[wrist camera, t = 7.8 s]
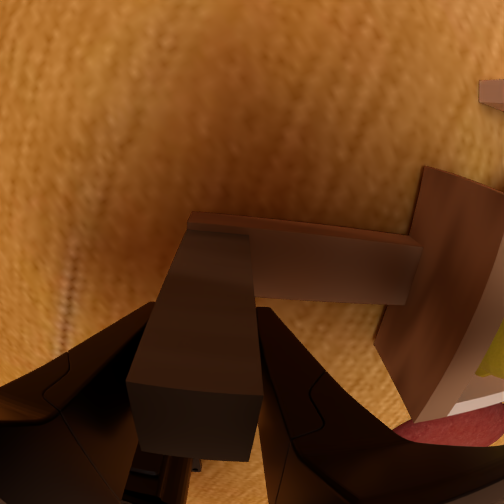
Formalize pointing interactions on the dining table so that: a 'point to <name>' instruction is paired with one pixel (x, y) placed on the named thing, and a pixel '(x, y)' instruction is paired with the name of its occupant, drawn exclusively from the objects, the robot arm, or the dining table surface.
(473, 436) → the red spill
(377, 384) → the dining table surface
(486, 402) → the box
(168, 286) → the scraper
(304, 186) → the dining table surface
